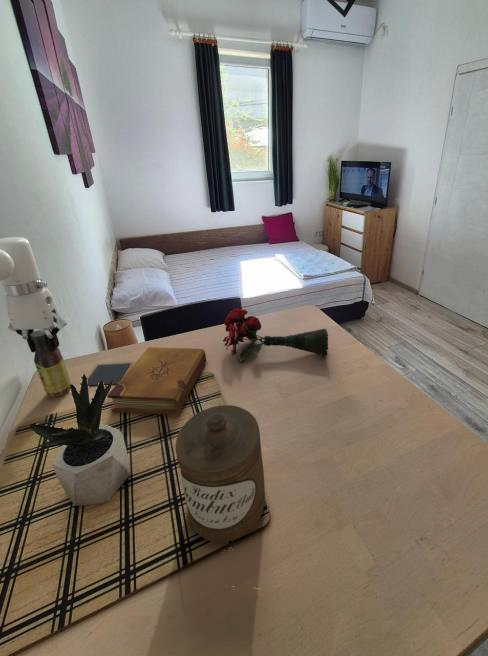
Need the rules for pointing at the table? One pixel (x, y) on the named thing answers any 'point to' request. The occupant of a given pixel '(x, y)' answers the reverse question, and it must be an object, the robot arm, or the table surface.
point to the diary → (158, 381)
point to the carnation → (250, 325)
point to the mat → (107, 374)
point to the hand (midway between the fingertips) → (45, 348)
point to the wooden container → (222, 472)
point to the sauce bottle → (50, 366)
